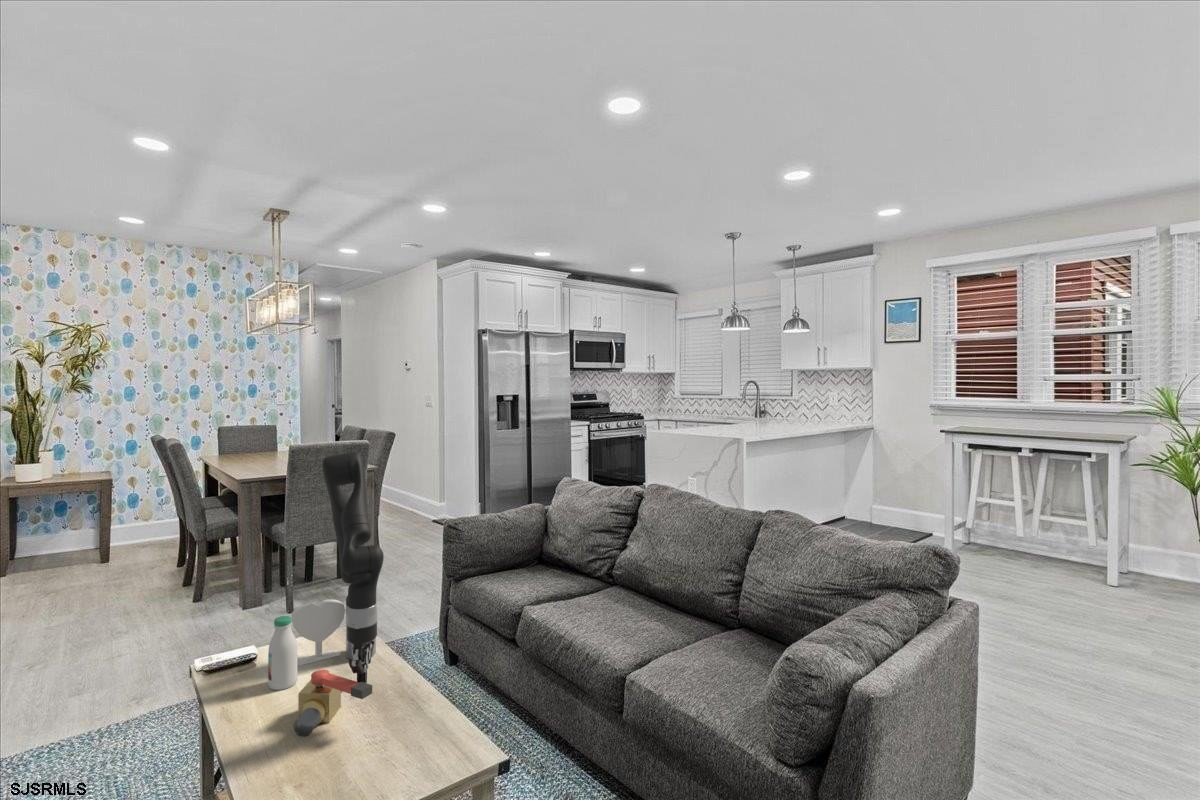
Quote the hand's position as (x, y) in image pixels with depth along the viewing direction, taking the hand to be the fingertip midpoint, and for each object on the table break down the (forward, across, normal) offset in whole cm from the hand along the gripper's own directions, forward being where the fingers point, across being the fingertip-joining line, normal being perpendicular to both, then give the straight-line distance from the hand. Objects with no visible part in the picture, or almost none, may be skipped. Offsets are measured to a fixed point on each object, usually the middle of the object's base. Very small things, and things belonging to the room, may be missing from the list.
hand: (361, 684), depth 162 cm
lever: (+1, +1, -6) cm, 6 cm away
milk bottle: (+11, -20, -30) cm, 38 cm away
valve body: (+10, -3, -12) cm, 16 cm away
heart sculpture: (+11, -38, -27) cm, 48 cm away
